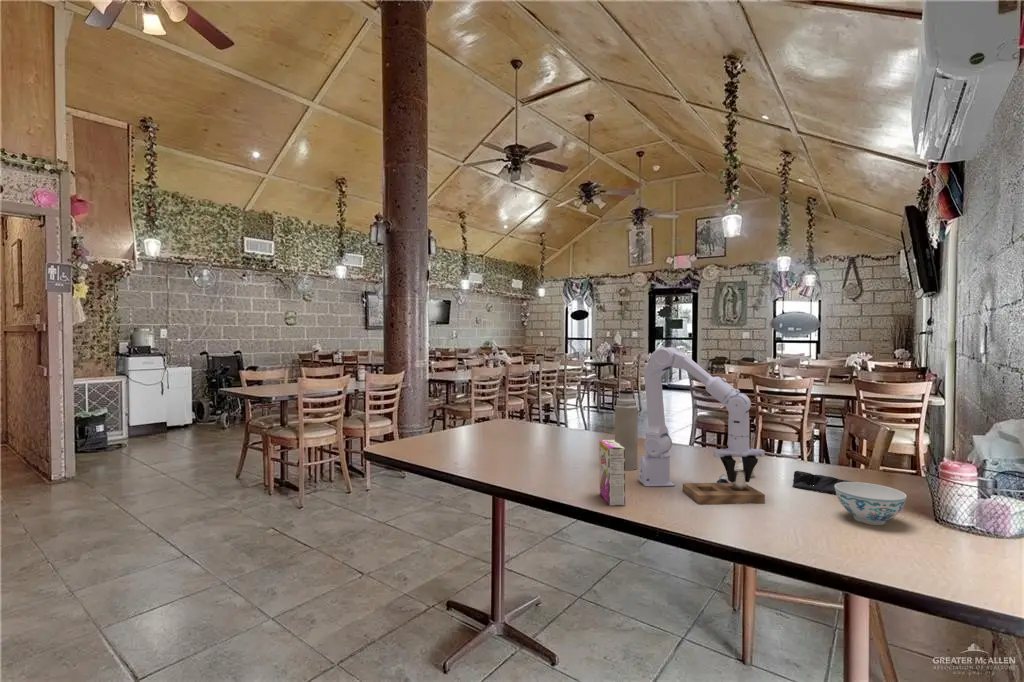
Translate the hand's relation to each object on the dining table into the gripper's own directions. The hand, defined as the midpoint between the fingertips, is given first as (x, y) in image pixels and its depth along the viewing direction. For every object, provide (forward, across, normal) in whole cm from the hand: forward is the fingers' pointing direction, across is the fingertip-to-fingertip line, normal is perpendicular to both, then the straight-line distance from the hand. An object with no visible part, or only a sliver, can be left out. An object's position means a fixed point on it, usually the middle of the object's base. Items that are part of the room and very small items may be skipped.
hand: (738, 481), depth 147 cm
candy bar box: (+5, -38, -1) cm, 38 cm away
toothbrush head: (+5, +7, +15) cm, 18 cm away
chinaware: (+5, +24, -20) cm, 32 cm away
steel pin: (+5, 0, 0) cm, 5 cm away
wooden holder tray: (+5, -5, 0) cm, 7 cm away
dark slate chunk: (+5, +34, +6) cm, 34 cm away
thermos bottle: (+5, -24, +35) cm, 43 cm away
